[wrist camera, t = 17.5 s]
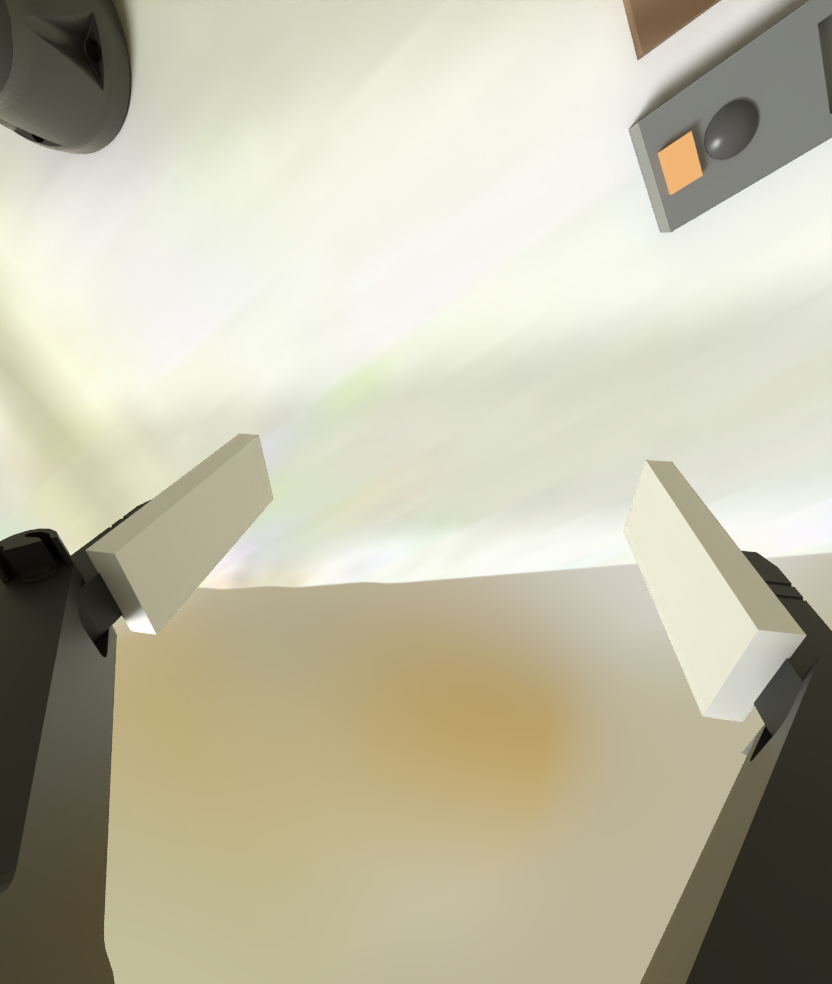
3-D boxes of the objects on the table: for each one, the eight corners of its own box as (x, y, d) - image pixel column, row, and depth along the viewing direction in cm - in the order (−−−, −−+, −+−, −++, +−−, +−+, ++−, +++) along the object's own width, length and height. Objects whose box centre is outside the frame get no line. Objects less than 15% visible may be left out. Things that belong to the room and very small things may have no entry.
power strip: (658, 232, 35) (674, 232, 32) (627, 130, 32) (641, 119, 29) (942, 63, 28) (999, 41, 25) (935, -88, 25) (999, -136, 22)
